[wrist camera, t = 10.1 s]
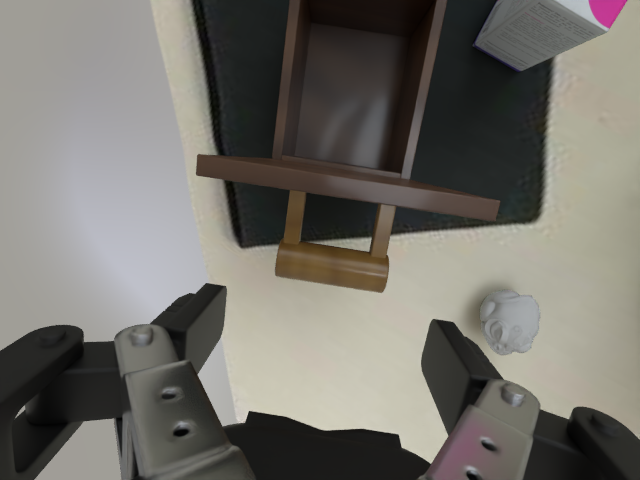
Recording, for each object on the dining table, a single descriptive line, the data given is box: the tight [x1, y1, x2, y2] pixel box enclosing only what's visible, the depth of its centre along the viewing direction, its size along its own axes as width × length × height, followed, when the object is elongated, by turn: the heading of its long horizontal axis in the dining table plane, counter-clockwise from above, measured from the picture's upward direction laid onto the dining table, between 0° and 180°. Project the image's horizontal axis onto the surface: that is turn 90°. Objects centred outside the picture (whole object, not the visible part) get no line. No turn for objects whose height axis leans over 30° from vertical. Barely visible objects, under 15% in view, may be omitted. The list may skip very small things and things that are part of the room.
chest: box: [272, 0, 447, 180], centre depth 31 cm, size 15×12×10 cm
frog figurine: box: [480, 290, 540, 355], centre depth 37 cm, size 6×7×7 cm
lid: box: [196, 154, 500, 293], centre depth 21 cm, size 15×12×5 cm
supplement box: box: [473, 0, 627, 72], centre depth 28 cm, size 6×6×12 cm
